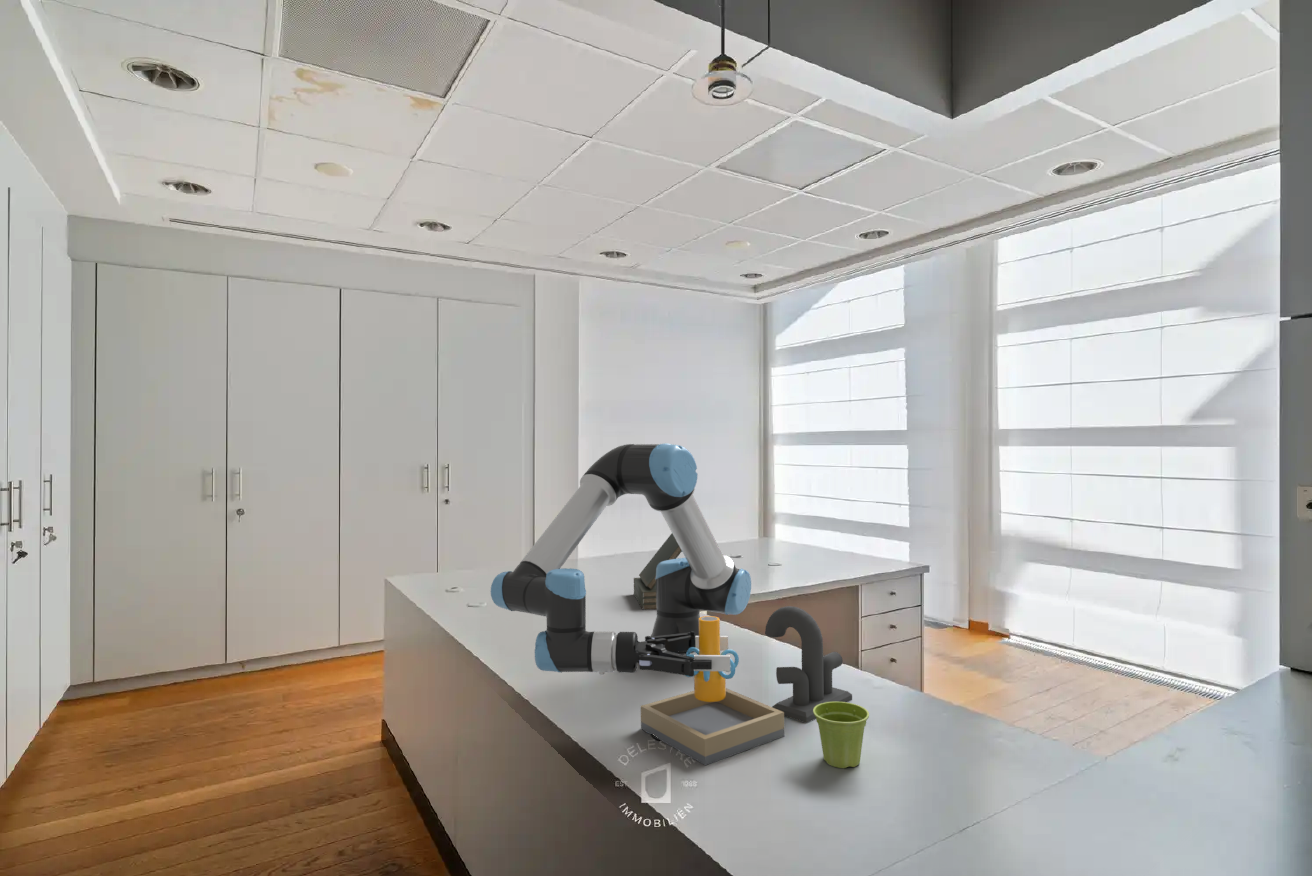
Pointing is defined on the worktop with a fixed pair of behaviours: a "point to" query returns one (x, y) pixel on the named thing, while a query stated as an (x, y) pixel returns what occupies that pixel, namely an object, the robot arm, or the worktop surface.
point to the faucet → (805, 666)
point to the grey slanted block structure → (654, 574)
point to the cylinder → (711, 682)
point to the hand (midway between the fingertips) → (729, 652)
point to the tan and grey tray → (712, 724)
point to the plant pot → (841, 732)
